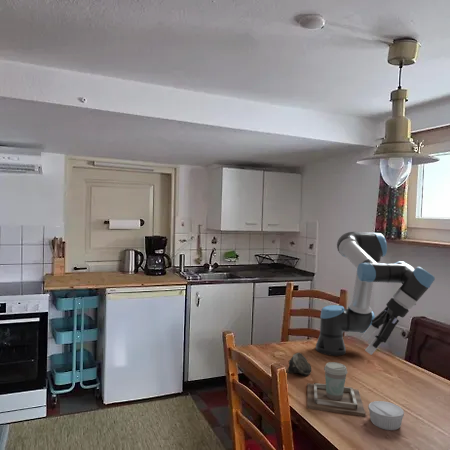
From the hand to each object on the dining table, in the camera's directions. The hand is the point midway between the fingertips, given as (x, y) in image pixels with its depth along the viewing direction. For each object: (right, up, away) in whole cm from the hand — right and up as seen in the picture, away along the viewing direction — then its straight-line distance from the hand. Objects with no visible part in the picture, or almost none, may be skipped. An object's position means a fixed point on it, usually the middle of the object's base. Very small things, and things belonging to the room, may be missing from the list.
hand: (365, 345), depth 154 cm
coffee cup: (-13, -19, -3) cm, 23 cm away
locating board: (-13, -20, -3) cm, 24 cm away
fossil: (-22, -19, +22) cm, 36 cm away
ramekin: (0, -21, -19) cm, 28 cm away
